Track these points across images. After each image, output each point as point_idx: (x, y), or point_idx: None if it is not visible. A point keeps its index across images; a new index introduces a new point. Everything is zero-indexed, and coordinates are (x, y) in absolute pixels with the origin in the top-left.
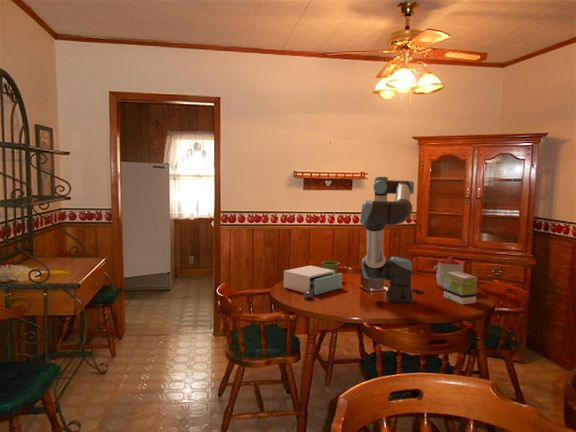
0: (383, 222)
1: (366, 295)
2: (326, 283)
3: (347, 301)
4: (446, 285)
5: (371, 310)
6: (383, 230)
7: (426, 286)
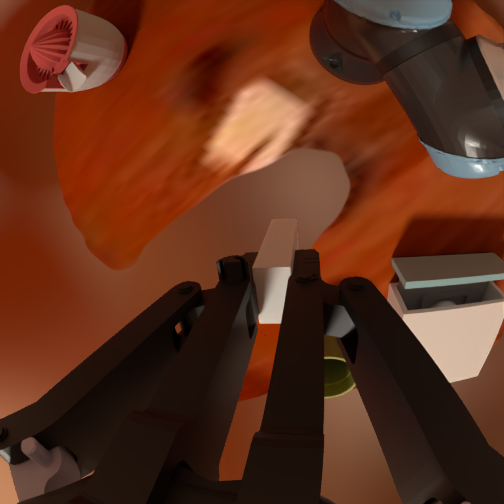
0: None
1: (404, 147)
2: (471, 266)
3: None
4: None
5: None
6: (231, 261)
7: (131, 102)
